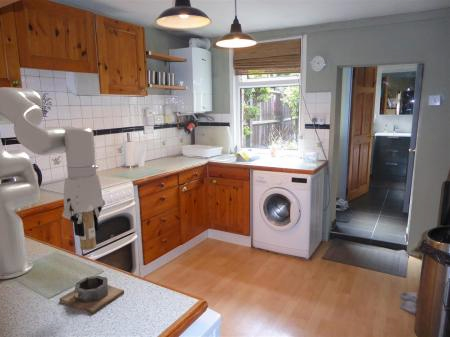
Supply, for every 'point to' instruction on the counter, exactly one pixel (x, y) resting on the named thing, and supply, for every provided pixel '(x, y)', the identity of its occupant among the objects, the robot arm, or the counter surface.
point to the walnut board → (92, 306)
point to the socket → (91, 289)
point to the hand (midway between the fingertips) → (87, 232)
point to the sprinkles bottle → (88, 230)
